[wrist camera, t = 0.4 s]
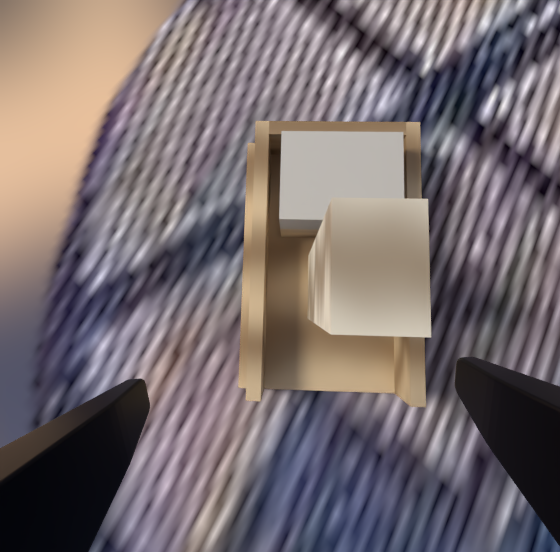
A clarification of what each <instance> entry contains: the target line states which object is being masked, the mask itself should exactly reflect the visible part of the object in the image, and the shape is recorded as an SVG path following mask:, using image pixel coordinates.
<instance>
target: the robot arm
mask: <svg viewBox="0 0 560 552" xmlns="http://www.w3.org/2000/svg"><path fill="white" fill-rule="evenodd" d="M455 388H456V391H457V393H458V395H459V397H460V399H461V400H462V402H463V404H464V405H465V407H466V409H467V411H468V412H469V414H470V416H471V418H472V419H473V421H474V423H475V424H476V426H477V428H478V430H479V431H480V433H481V435H482V436H483V438H484V440H485V441H486V443H487V444H488V446H489V447H490V449H491V450H492V452H493V453H494V455H495V456H496V457H497V459H498V460H499V462H500V463H501V464H502V466H503V467H504V469H505V470H506V471H507V473H508V474H509V476H510V477H511V478H512V480H513V481H514V483H515V484H516V485H517V487H518V488H519V490H520V491H521V493H522V494H523V495H524V497H525V498H526V500H527V501H528V502H529V504H530V505H531V507H532V508H533V509H534V511H535V512H536V514H537V515H538V516H539V518H540V519H541V521H542V522H543V523H544V525H545V526H546V528H547V529H548V530H549V532H550V533H551V535H552V536H553V537H554V539H555V540H556V542H557V543H558V545H559V546H560V387H559V386H556V385H553V384H551V383H548V382H545V381H542V380H539V379H536V378H533V377H530V376H527V375H525V374H522V373H519V372H516V371H513V370H510V369H507V368H504V367H502V366H499V365H496V364H493V363H490V362H487V361H484V360H481V359H479V358H476V357H464V358H459V359H458V360H457V363H456V375H455ZM149 409H150V402H149V397H148V393H147V388H146V384H145V381H144V380H143V379H129V380H126V381H125V382H123V383H121V384H119V385H117V386H115V387H113V388H112V389H110V390H108V391H106V392H104V393H102V394H100V395H98V396H97V397H95V398H93V399H91V400H89V401H87V402H85V403H84V404H82V405H80V406H78V407H76V408H74V409H72V410H71V411H69V412H67V413H65V414H63V415H61V416H59V417H58V418H56V419H54V420H52V421H50V422H48V423H46V424H45V425H43V426H41V427H39V428H37V429H35V430H33V431H31V432H30V433H28V434H26V435H24V436H22V437H20V438H18V439H17V440H15V441H13V442H11V443H9V444H7V445H5V446H4V447H2V448H0V552H88V551H89V549H90V547H91V545H92V543H93V541H94V539H95V537H96V535H97V532H98V530H99V528H100V526H101V524H102V522H103V520H104V518H105V516H106V514H107V511H108V509H109V507H110V505H111V503H112V501H113V499H114V497H115V495H116V492H117V490H118V488H119V486H120V484H121V482H122V480H123V478H124V476H125V474H126V471H127V469H128V467H129V465H130V462H131V460H132V457H133V455H134V452H135V449H136V446H137V443H138V441H139V438H140V435H141V432H142V430H143V427H144V424H145V421H146V419H147V416H148V413H149Z"/></svg>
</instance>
